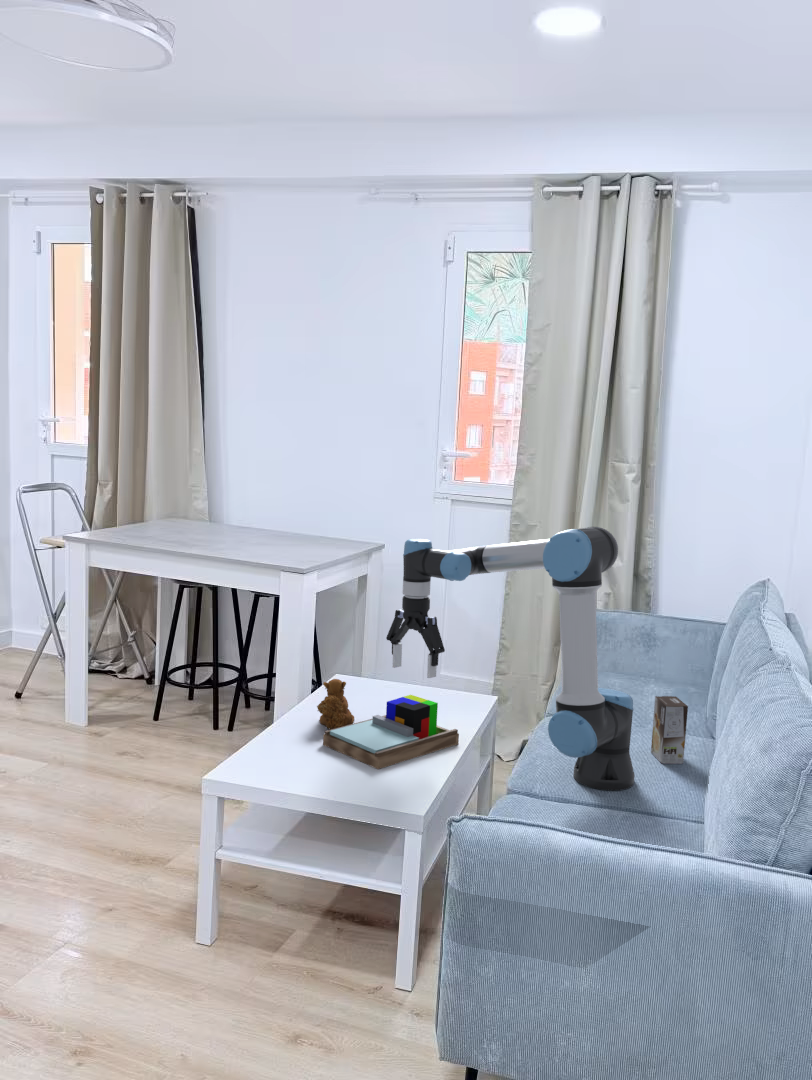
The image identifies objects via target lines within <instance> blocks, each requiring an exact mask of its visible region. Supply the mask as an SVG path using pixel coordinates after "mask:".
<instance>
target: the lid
mask: <svg viewBox="0 0 812 1080" xmlns="http://www.w3.org/2000/svg"><path fill="white" fill-rule="evenodd" d="M382 716H383V715H379V714H376V715H372V719H373V720H369V719H368V720H369V721H366V722H362V721H361V722H362V723H358V722H357V723H358V724H354V723H353V724H354V725H350V726H347V727H343V728H339V729H335V730H331V731H330V735H332V736H334V737H337V738H339V739H341V740H344V741H346V742H348V743H351V744H353V745H355V746H358V747H360V748H362V749H365V750H367V751H369V752H372V753H374V754H375V752H378V751H382V750H385V749H389V748H392V747H395V746H399V745H402V744H405V743H409V742H412V741H415V740H419V738H418V737H415V736H413V728H411V727H408V726H406V725H403V724H401V723H398V722H395V721H393V720H390V719H388V718H385V717H382Z"/></svg>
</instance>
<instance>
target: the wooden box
mask: <svg viewBox="0 0 812 1080" xmlns="http://www.w3.org/2000/svg"><path fill="white" fill-rule="evenodd" d="M381 716H382V717H385V718H386V714H384V715H381ZM369 720H373V718H369V719H367V720H362V721H359V722H355V723H354V722H353V723H352V724H350V725H354V724H358V723H362V722H366V721H369ZM350 725H346V726H343V727H347V726H350ZM343 727H339V728H343ZM339 728H335V729H339ZM335 729H331V730H335ZM331 730H330V729H328V730H325V731H324V734H322V735H323V736H322V737H323V738H322V742H323V743H322V745H323V746H325V747H327V748H329V749H331V750H334V751H336V752H338V753H340V754H343V755H345V756H347V757H350V758H352V759H354V760H356V761H358V762H360V763H362V764H364V765H367V766H369V767H372V768H374V769H377V770H381V769H383V768H386V767H389V766H393V765H396V764H400V763H403V762H407V761H409V760H412V759H416V758H419V757H422V756H425V755H429V754H431V753H435V752H438V751H441V750H444V749H447V748H451V747H453V746H457V745H459V741H460V740H459V736H460V733H459V732H458V730H459V729H457V728H454V729H448V728H444V727H443V726H442V727H441V726H440V725H437V727H436V735H432V736H429V737H426V738H422V739H419V740H415V741H412V742H409V743H405V744H402V745H399V746H395V747H392V748H389V749H385V750H382V751H378V752H375V754H374V753H372V752H369V751H367V750H365V749H362V748H360V747H358V746H355V745H353V744H351V743H348V742H346V741H344V740H341V739H339V738H337V737H334V736H332V735H330V731H331Z"/></svg>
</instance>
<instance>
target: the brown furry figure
mask: <svg viewBox="0 0 812 1080" xmlns="http://www.w3.org/2000/svg"><path fill="white" fill-rule="evenodd" d="M322 685H323V686H324V687H325V688H324V690H326V693H327V696H325V697H324V698H323V700H321V701H320V702H319V704H318V705H316V708H317V710H316V711H317V712H318V713H320V714H321V715H320V716H319V723H320V725H322V726H325V727H327V729H328V730H331V729H335V728H339V727H343V726H346V725H350V724H354V722H355V715H353V714H352V712H351V710H350V709H349V702H348V699H347V698H346V696H344V695H345V689H346V688H345V687H346V685H347V682H346V681H342V679H341V680H340V679H338V678H332V679H331V680H329V681H328V682H326V681H323V683H322Z"/></svg>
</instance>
